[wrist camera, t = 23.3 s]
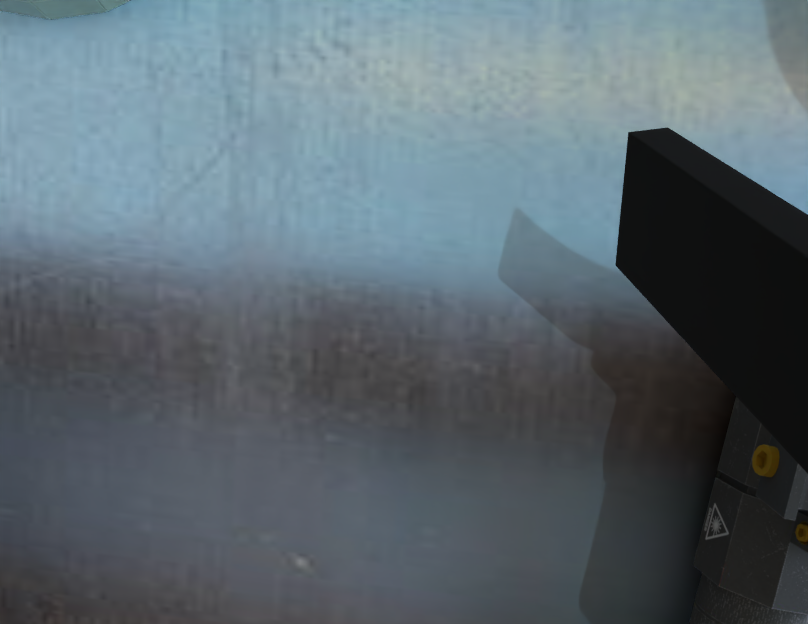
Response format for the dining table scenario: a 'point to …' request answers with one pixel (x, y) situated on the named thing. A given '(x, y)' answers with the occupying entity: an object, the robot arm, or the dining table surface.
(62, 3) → the bowl
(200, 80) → the dining table surface
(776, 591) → the laser sight
